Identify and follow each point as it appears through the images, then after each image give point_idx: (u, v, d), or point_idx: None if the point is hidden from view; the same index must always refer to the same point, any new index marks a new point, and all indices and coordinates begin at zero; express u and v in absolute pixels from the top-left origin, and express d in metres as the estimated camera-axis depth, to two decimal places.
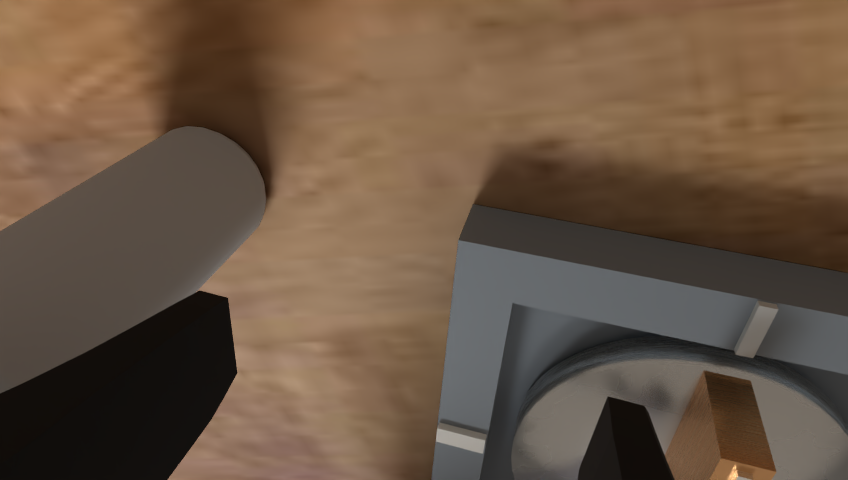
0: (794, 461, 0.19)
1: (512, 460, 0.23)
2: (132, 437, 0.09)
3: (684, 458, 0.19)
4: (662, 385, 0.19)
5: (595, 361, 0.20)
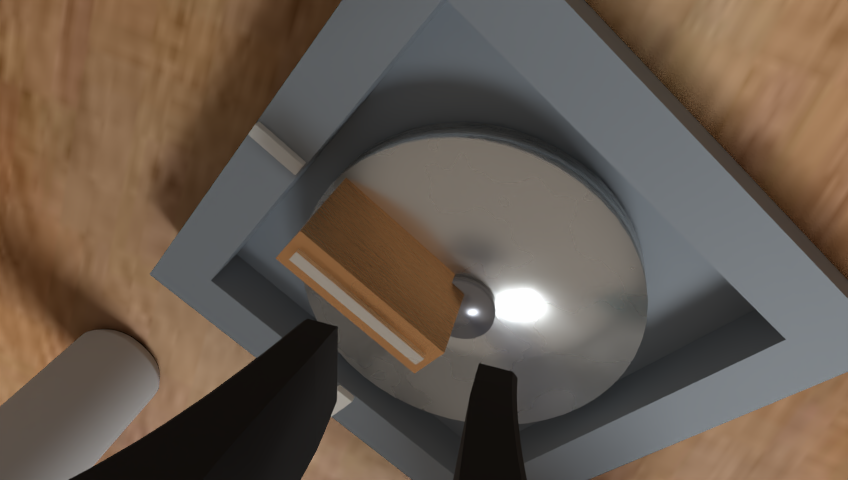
0: (465, 195, 0.18)
1: (383, 389, 0.23)
2: (260, 477, 0.09)
3: None
4: None
5: None
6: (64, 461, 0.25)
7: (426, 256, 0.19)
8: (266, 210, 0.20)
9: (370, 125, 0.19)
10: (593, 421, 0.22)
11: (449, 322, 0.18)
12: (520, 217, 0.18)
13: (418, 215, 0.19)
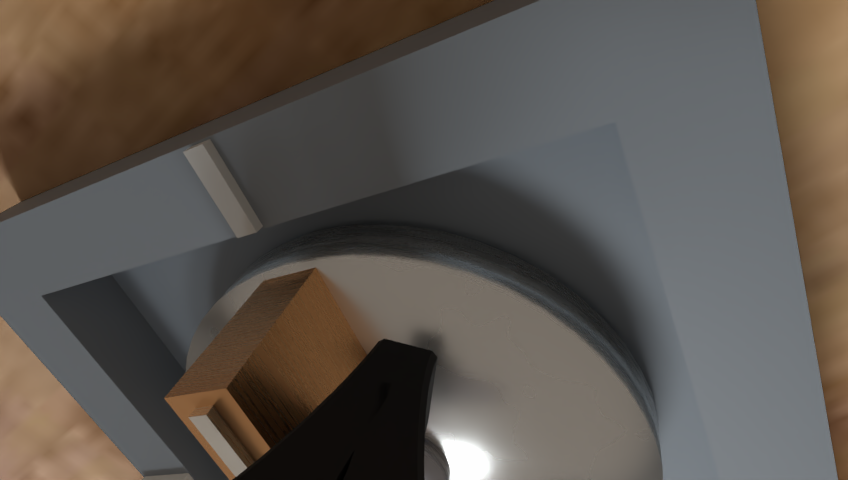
0: (480, 363, 0.12)
1: None
2: None
3: None
4: None
5: None
6: None
7: None
8: (168, 254, 0.12)
9: (375, 193, 0.13)
10: None
11: None
12: (539, 415, 0.12)
13: None
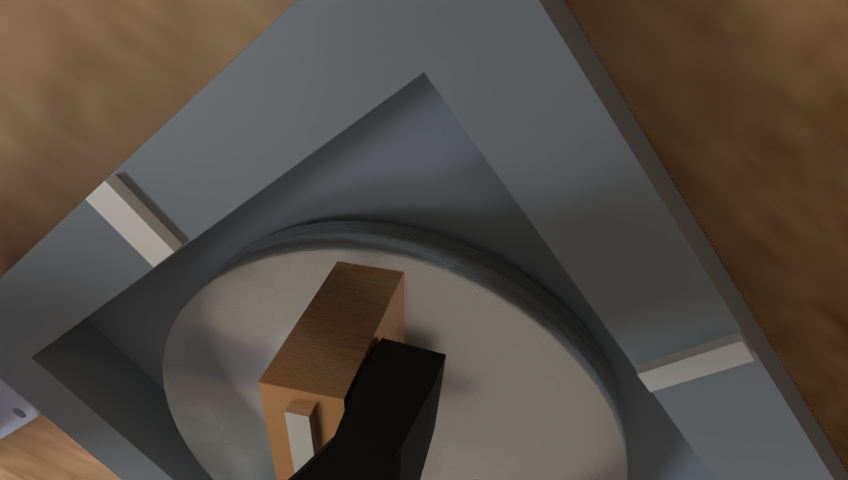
0: (512, 402, 0.13)
1: (180, 431, 0.16)
2: None
3: None
4: (297, 293, 0.12)
5: (223, 269, 0.13)
6: None
7: None
8: (578, 284, 0.10)
9: None
10: None
11: None
12: (536, 458, 0.13)
13: None
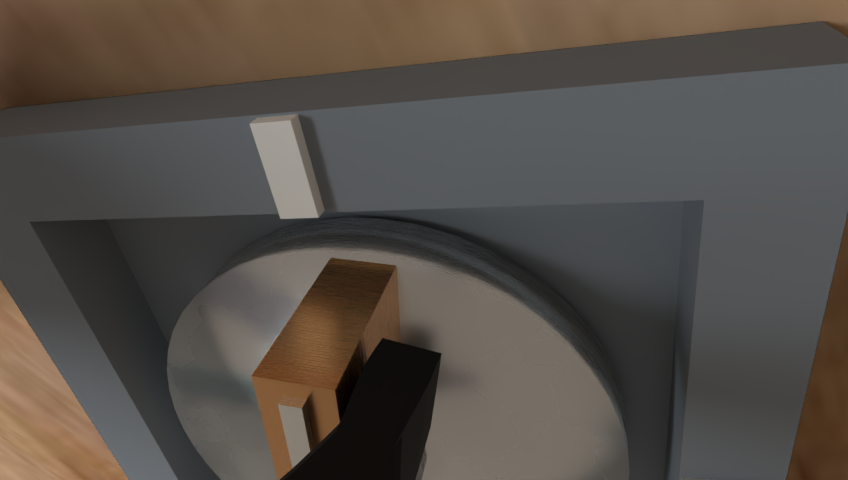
0: (511, 393, 0.13)
1: (187, 433, 0.17)
2: None
3: None
4: (293, 291, 0.13)
5: (221, 270, 0.14)
6: None
7: None
8: (688, 406, 0.11)
9: (637, 461, 0.15)
10: (156, 414, 0.17)
11: None
12: (538, 448, 0.13)
13: None
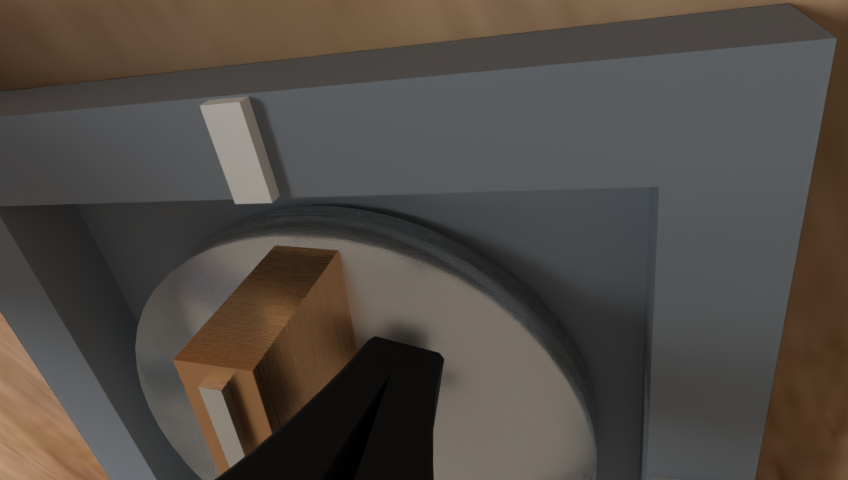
0: (467, 379, 0.12)
1: (164, 432, 0.17)
2: None
3: None
4: None
5: None
6: None
7: None
8: (652, 403, 0.11)
9: (612, 460, 0.15)
10: (128, 404, 0.17)
11: None
12: (501, 437, 0.13)
13: None
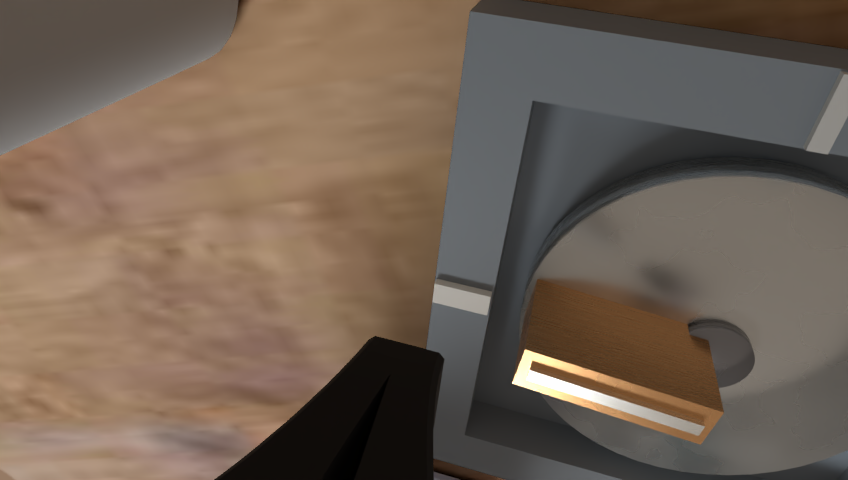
0: (663, 245, 0.17)
1: (664, 467, 0.22)
2: None
3: None
4: None
5: None
6: (103, 94, 0.14)
7: (650, 318, 0.18)
8: (713, 130, 0.15)
9: None
10: (634, 473, 0.22)
11: (710, 377, 0.16)
12: (731, 241, 0.16)
13: (623, 283, 0.18)
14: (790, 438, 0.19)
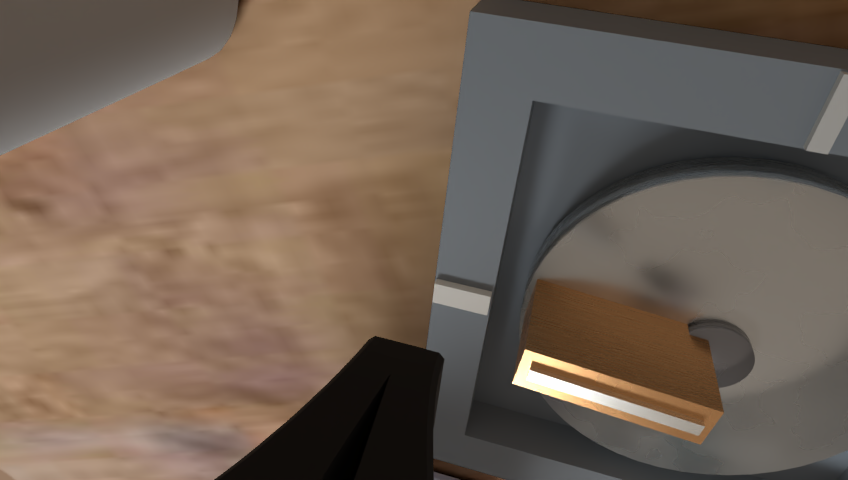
0: (663, 245, 0.17)
1: (664, 467, 0.22)
2: None
3: None
4: None
5: None
6: (103, 94, 0.14)
7: (650, 318, 0.18)
8: (713, 130, 0.15)
9: None
10: (634, 473, 0.22)
11: (710, 377, 0.16)
12: (731, 241, 0.16)
13: (623, 283, 0.18)
14: (790, 438, 0.19)
